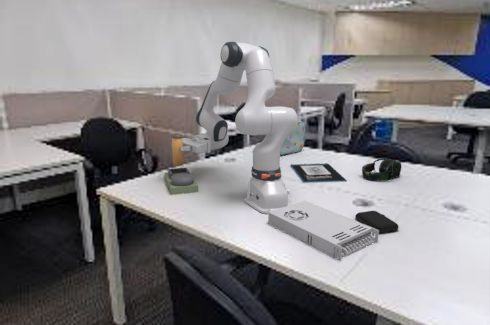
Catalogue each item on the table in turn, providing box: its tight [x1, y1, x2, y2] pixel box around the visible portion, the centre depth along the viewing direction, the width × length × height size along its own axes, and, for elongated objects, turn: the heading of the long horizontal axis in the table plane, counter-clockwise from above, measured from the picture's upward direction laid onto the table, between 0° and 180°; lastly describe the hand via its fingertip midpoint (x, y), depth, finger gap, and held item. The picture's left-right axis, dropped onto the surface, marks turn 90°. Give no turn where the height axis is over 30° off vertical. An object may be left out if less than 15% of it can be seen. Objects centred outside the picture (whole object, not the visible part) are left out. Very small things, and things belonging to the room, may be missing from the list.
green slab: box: [164, 167, 199, 196], centre depth 177 cm, size 24×12×6 cm, turn 18°
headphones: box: [361, 157, 402, 182], centre depth 189 cm, size 13×13×20 cm
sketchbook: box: [290, 162, 348, 184], centre depth 197 cm, size 22×30×2 cm
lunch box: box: [280, 119, 307, 156], centre depth 236 cm, size 27×10×21 cm, turn 130°
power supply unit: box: [267, 200, 380, 261], centre depth 130 cm, size 19×33×5 cm, turn 37°
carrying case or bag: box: [354, 210, 400, 234], centre depth 136 cm, size 11×3×15 cm
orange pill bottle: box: [170, 133, 185, 166], centre depth 178 cm, size 5×5×14 cm
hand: (176, 147), depth 178 cm, fingers closed on orange pill bottle, 5 cm apart
